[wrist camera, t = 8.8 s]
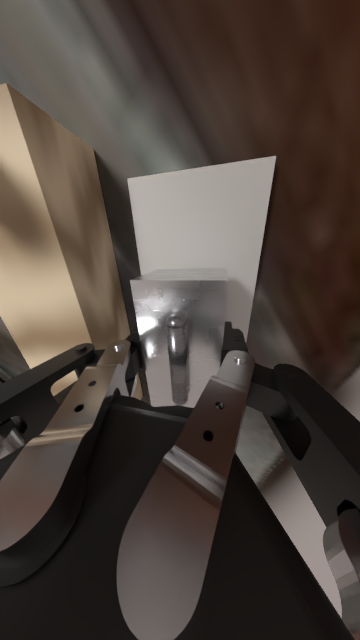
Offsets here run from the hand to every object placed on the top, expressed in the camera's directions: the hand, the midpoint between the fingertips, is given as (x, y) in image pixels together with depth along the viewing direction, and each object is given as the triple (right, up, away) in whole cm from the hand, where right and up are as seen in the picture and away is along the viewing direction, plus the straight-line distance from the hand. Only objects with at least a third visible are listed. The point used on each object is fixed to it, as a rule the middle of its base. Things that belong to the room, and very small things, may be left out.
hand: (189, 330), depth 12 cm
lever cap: (0, 0, +1) cm, 1 cm away
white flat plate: (+1, +1, +2) cm, 3 cm away
